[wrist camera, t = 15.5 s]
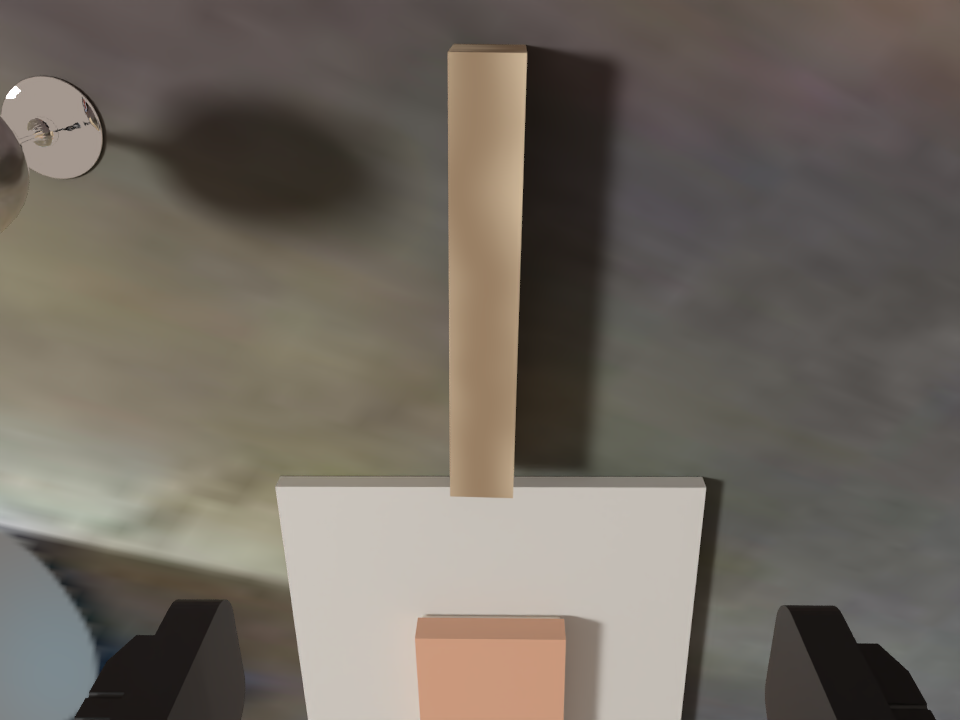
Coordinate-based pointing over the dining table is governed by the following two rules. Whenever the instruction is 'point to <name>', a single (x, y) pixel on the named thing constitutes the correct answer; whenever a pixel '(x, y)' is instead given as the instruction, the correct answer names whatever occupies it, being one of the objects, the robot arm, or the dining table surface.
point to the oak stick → (484, 262)
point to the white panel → (492, 583)
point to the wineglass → (44, 138)
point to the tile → (491, 667)
